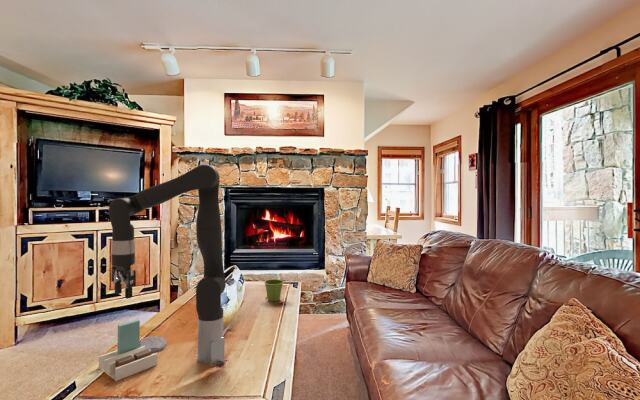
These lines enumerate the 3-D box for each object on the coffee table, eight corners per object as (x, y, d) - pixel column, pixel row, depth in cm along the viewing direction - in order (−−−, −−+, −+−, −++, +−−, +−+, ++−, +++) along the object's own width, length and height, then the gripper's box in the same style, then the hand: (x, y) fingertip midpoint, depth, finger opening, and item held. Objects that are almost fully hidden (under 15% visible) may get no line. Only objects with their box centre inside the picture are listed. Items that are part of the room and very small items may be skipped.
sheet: (139, 357, 130) (139, 320, 130) (119, 364, 125) (120, 326, 124) (136, 355, 131) (137, 319, 131) (117, 362, 126) (117, 324, 126)
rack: (157, 368, 125) (157, 353, 125) (116, 385, 114) (116, 368, 114) (138, 356, 134) (138, 343, 133) (98, 371, 122) (98, 356, 122)
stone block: (164, 346, 147) (138, 346, 143) (167, 335, 147) (141, 334, 143) (165, 359, 136) (137, 359, 132) (167, 348, 137) (140, 347, 132)
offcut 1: (134, 371, 120) (134, 357, 120) (119, 377, 116) (119, 362, 116) (130, 368, 122) (130, 354, 121) (115, 374, 118) (115, 360, 117)
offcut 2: (151, 364, 125) (151, 351, 125) (137, 370, 121) (137, 356, 120) (147, 362, 126) (147, 348, 126) (133, 367, 122) (133, 353, 122)
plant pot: (260, 301, 204) (260, 283, 203) (269, 296, 215) (269, 278, 215) (278, 304, 200) (279, 284, 200) (286, 298, 212) (286, 280, 211)
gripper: (143, 252, 125) (143, 297, 125) (125, 248, 133) (125, 290, 133) (121, 255, 119) (121, 302, 119) (103, 251, 127) (103, 294, 127)
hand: (123, 295), depth 126 cm, fingers open, 8 cm apart
